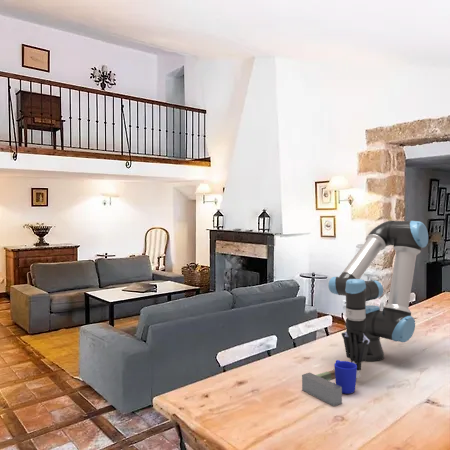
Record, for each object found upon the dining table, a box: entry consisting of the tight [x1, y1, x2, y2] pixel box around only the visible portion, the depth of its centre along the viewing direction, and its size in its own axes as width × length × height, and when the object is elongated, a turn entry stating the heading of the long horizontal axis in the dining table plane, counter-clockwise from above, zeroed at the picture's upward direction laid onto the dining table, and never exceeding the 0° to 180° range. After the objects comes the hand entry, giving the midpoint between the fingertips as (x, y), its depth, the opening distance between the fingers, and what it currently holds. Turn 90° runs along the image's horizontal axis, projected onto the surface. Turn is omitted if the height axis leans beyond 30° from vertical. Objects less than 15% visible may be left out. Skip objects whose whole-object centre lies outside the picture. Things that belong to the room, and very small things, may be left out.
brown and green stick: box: [316, 368, 336, 381], centre depth 174 cm, size 2×30×3 cm, turn 123°
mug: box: [334, 359, 357, 395], centre depth 163 cm, size 8×12×10 cm
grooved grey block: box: [301, 372, 343, 407], centre depth 157 cm, size 16×5×6 cm, turn 33°
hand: (356, 377), depth 170 cm, fingers closed
